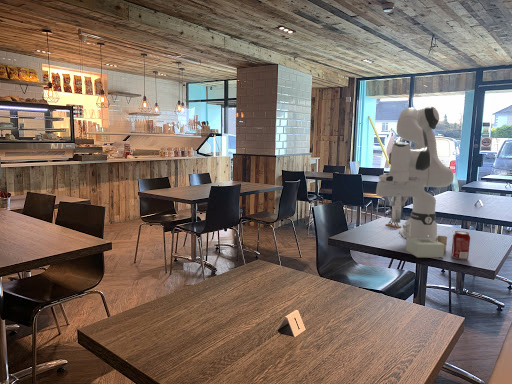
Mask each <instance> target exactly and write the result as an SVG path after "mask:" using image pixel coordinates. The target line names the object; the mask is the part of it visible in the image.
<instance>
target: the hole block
mask: <svg viewBox="0 0 512 384" xmlns="http://www.w3.org/2000/svg"><path fill="white" fill-rule="evenodd" d="M405 241H406V243H405V251H407V252H408V253H410V254H412V255H413V256H415V257H416V258H439V257H442V258H444V253H445V252H444V244H442V243H440V242H438V241H437V239H436V240H434V239H432V238H405Z"/></svg>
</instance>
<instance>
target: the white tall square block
mask: <svg viewBox="0 0 512 384" xmlns="http://www.w3.org/2000/svg"><path fill="white" fill-rule="evenodd" d="M402 201H403V197H402V194H397V197H392V202H394V206H391V207H392V208H391V210H392V213H391V215H392V216H391V217H392V220H391V223H392V222H393V224H394V223H395V224H396V223H398V224H399V223H401V216H402V207H403V206H402Z"/></svg>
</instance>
